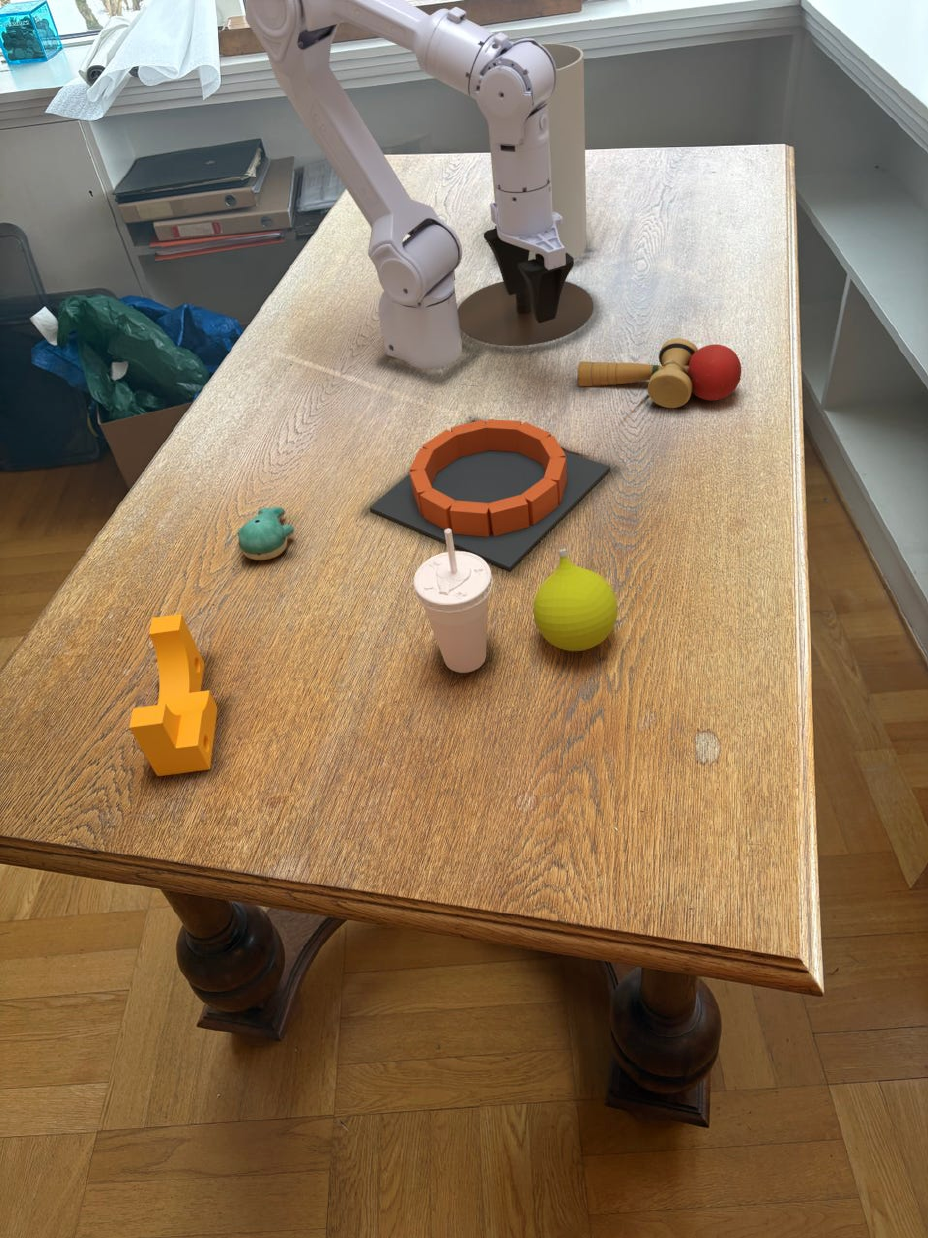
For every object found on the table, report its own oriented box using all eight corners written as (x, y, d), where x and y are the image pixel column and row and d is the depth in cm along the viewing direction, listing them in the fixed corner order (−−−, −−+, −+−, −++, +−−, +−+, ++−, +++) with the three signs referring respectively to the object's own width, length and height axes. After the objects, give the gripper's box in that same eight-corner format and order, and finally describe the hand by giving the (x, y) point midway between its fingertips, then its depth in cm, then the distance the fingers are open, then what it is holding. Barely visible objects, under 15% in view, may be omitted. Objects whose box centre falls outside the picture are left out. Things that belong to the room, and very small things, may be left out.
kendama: (575, 417, 109) (737, 411, 102) (568, 363, 105) (735, 354, 99) (591, 391, 115) (745, 384, 108) (585, 340, 111) (744, 329, 104)
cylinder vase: (601, 240, 137) (600, 45, 119) (560, 279, 130) (553, 78, 112) (526, 228, 142) (515, 40, 125) (483, 265, 135) (464, 71, 118)
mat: (370, 511, 99) (369, 507, 99) (473, 423, 108) (473, 419, 108) (510, 571, 90) (509, 567, 90) (610, 470, 99) (610, 466, 99)
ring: (385, 496, 100) (380, 473, 97) (487, 426, 106) (484, 403, 104) (492, 557, 91) (489, 533, 89) (596, 477, 98) (595, 453, 96)
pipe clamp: (209, 769, 77) (184, 720, 73) (157, 776, 78) (129, 727, 73) (223, 661, 86) (201, 611, 81) (176, 667, 86) (152, 618, 81)
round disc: (428, 331, 124) (423, 299, 121) (508, 272, 133) (506, 241, 130) (542, 364, 115) (541, 330, 112) (620, 299, 124) (620, 266, 121)
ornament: (558, 600, 87) (553, 515, 80) (630, 623, 84) (632, 537, 77) (521, 652, 83) (513, 568, 76) (596, 678, 80) (594, 593, 73)
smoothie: (510, 637, 84) (497, 514, 74) (488, 691, 80) (471, 569, 70) (443, 625, 86) (421, 504, 76) (418, 677, 82) (391, 557, 72)
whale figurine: (233, 566, 95) (222, 537, 92) (249, 519, 100) (239, 490, 97) (290, 564, 94) (280, 535, 92) (303, 516, 99) (294, 487, 97)
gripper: (591, 194, 93) (593, 322, 102) (528, 150, 103) (535, 270, 112) (526, 213, 91) (534, 340, 101) (468, 167, 101) (480, 287, 111)
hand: (531, 305), depth 106 cm, fingers open, 7 cm apart
